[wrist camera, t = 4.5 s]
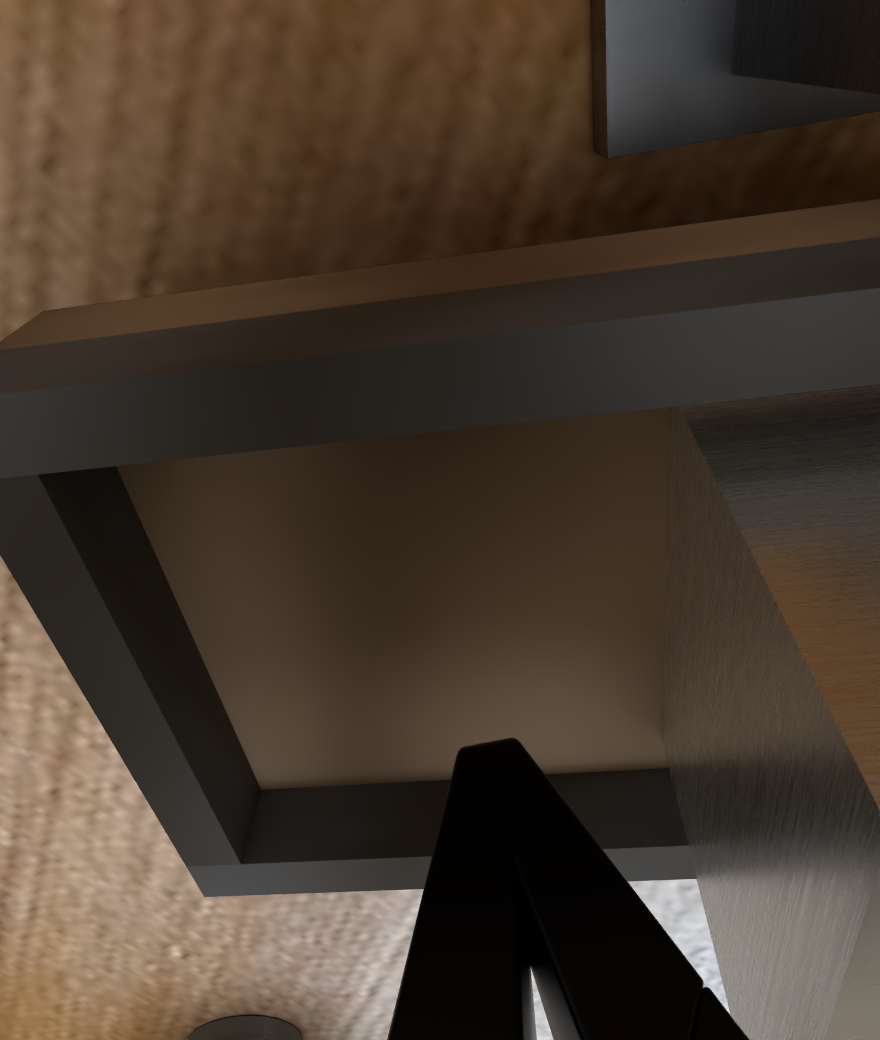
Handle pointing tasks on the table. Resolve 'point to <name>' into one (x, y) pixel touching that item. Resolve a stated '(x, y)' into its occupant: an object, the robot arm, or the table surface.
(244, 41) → the table surface
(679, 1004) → the robot arm
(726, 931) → the steel rider
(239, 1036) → the beverage cup
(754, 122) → the stand
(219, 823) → the grey tray
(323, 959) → the table surface
